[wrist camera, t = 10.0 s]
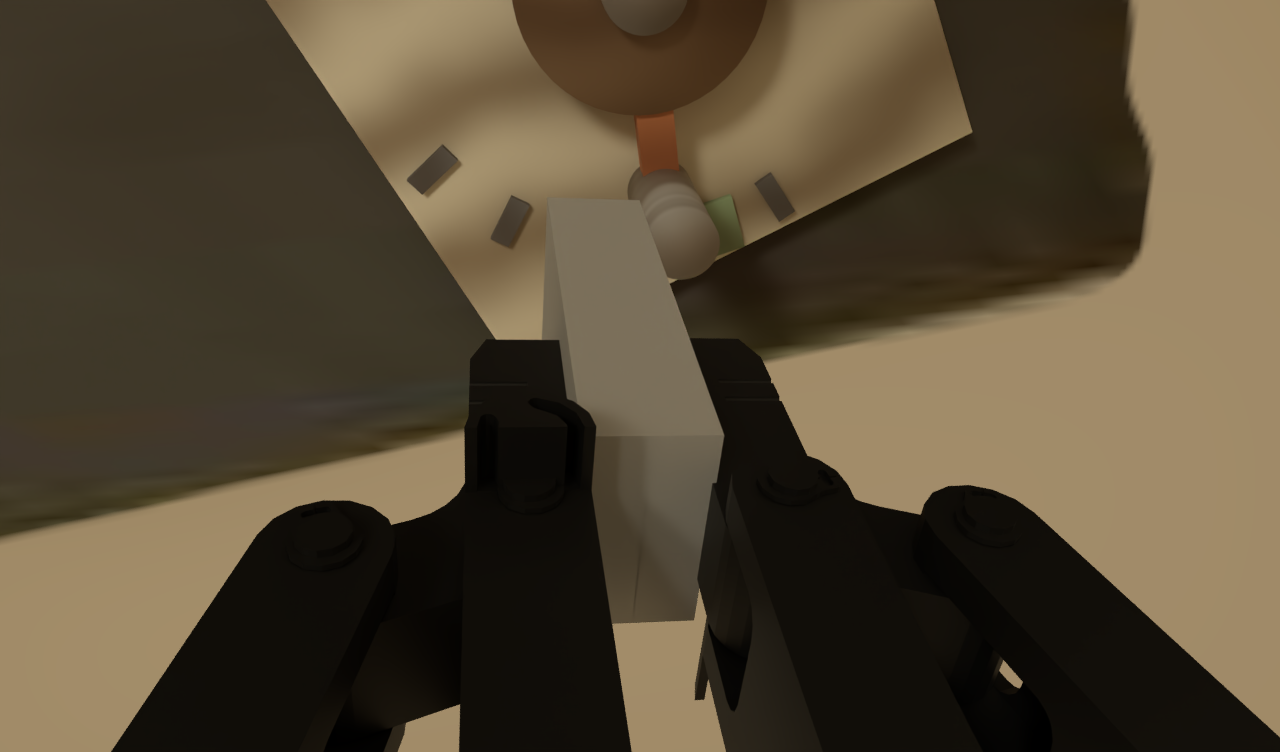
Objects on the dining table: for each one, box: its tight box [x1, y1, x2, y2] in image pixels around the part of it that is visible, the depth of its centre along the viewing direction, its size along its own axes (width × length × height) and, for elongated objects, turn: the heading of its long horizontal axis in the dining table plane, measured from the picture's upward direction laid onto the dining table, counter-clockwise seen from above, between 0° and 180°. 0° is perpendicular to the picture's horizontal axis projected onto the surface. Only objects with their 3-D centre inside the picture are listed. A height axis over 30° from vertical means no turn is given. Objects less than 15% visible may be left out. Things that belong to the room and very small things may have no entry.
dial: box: [512, 0, 767, 280], centre depth 33 cm, size 14×9×6 cm, turn 7°
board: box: [266, 0, 972, 340], centre depth 36 cm, size 20×22×2 cm
